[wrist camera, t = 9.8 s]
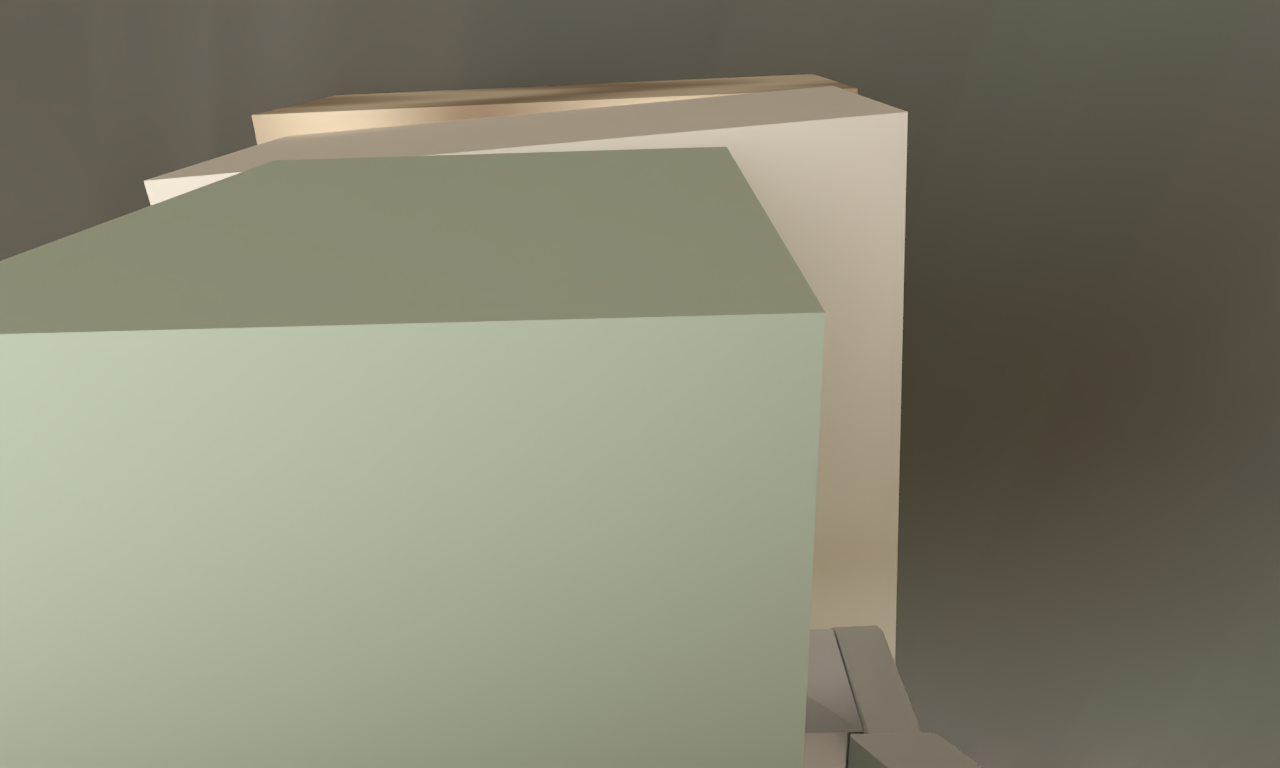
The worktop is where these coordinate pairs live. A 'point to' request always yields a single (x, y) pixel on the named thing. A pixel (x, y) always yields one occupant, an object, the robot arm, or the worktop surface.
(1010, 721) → the worktop surface
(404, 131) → the tower top
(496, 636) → the green bar
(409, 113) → the tower base
